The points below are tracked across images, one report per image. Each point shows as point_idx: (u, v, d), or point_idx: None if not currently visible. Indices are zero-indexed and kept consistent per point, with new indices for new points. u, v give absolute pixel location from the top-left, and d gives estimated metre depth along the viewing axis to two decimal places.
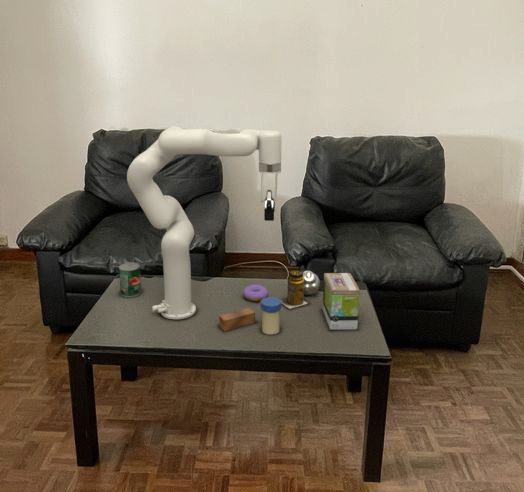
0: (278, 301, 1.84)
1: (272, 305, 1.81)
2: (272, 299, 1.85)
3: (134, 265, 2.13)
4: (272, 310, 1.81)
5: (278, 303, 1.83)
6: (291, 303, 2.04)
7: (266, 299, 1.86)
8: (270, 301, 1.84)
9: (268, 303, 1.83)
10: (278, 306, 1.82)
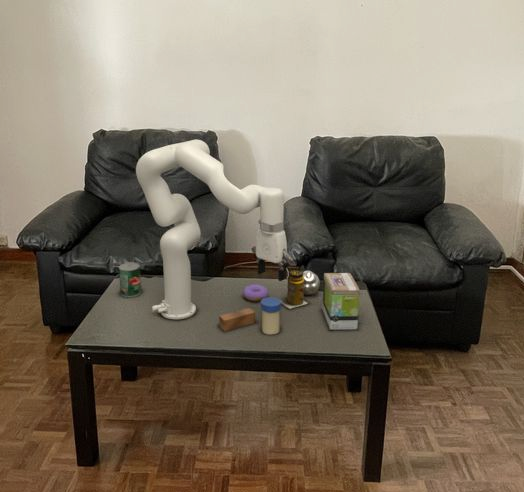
0: (278, 301, 1.84)
1: (272, 305, 1.81)
2: (272, 299, 1.85)
3: (134, 265, 2.13)
4: (272, 310, 1.81)
5: (278, 303, 1.83)
6: (291, 303, 2.04)
7: (266, 299, 1.86)
8: (270, 301, 1.84)
9: (268, 303, 1.83)
10: (278, 306, 1.82)
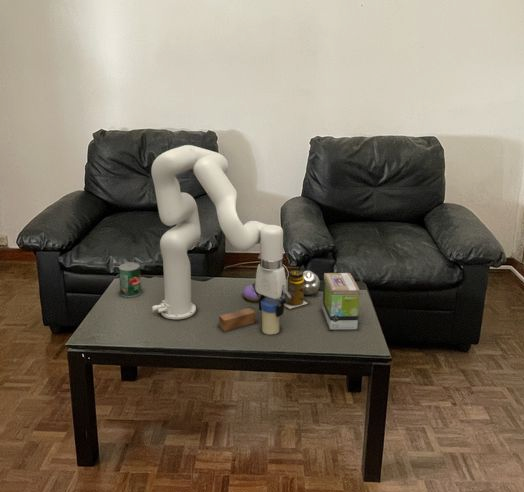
0: None
1: (272, 305, 1.81)
2: (272, 299, 1.85)
3: (134, 265, 2.13)
4: (272, 310, 1.81)
5: None
6: (291, 303, 2.04)
7: (266, 299, 1.86)
8: (270, 301, 1.84)
9: (269, 303, 1.83)
10: None
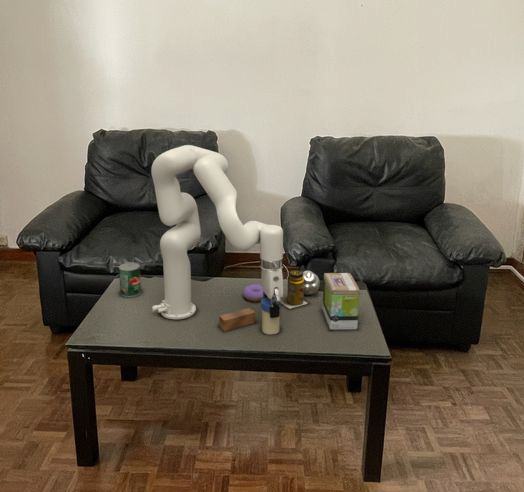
0: (264, 299, 1.85)
1: None
2: (267, 302, 1.83)
3: (134, 265, 2.13)
4: None
5: (267, 297, 1.86)
6: (291, 303, 2.04)
7: None
8: None
9: None
10: None
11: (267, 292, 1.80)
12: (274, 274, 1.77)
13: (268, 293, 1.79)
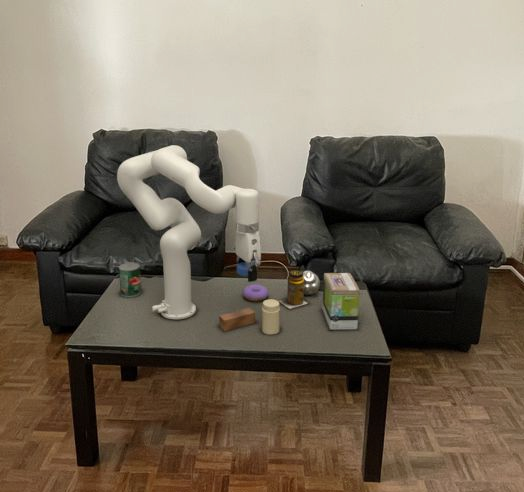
0: (239, 264, 1.85)
1: None
2: (244, 267, 1.83)
3: (134, 265, 2.13)
4: None
5: (241, 263, 1.86)
6: (291, 303, 2.04)
7: None
8: (247, 266, 1.84)
9: None
10: None
11: (245, 256, 1.79)
12: (252, 237, 1.77)
13: (246, 257, 1.79)
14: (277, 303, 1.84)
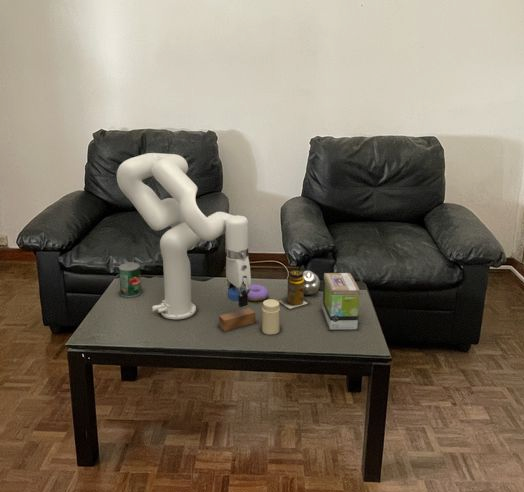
0: (230, 289, 1.88)
1: None
2: (235, 292, 1.86)
3: (134, 265, 2.13)
4: None
5: (232, 288, 1.89)
6: (291, 303, 2.04)
7: None
8: (238, 291, 1.87)
9: (241, 289, 1.88)
10: None
11: (235, 282, 1.83)
12: (242, 263, 1.80)
13: (236, 283, 1.82)
14: (277, 303, 1.84)
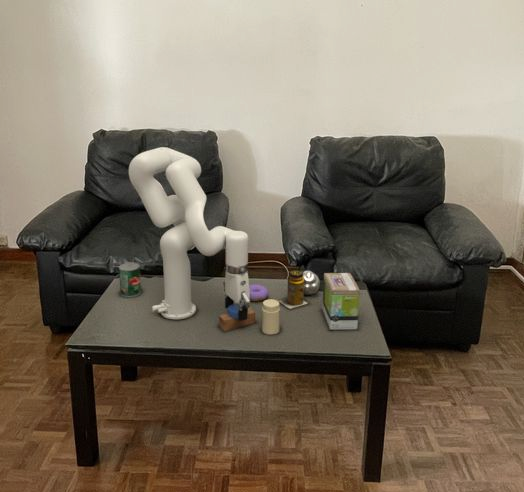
0: (230, 306, 1.89)
1: None
2: (235, 309, 1.87)
3: (134, 265, 2.13)
4: None
5: (232, 305, 1.90)
6: (291, 303, 2.04)
7: None
8: (238, 308, 1.88)
9: None
10: None
11: (234, 297, 1.84)
12: (241, 279, 1.82)
13: (235, 298, 1.83)
14: (277, 303, 1.84)
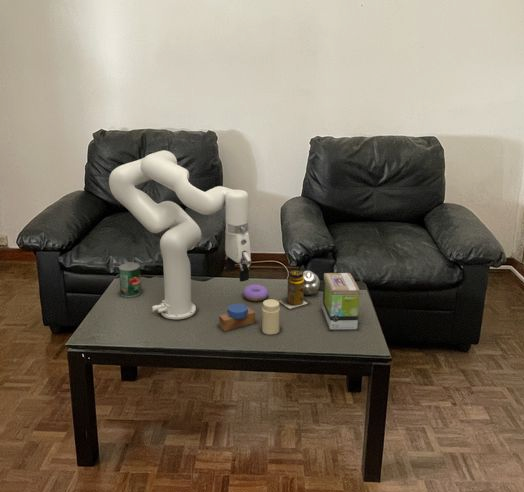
0: (230, 306, 1.89)
1: (239, 304, 1.91)
2: (235, 309, 1.87)
3: (134, 265, 2.13)
4: None
5: (232, 305, 1.90)
6: (291, 303, 2.04)
7: (240, 310, 1.86)
8: (238, 308, 1.88)
9: (241, 306, 1.90)
10: None
11: (235, 257, 1.81)
12: (242, 238, 1.78)
13: (236, 257, 1.80)
14: (277, 303, 1.84)
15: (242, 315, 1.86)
